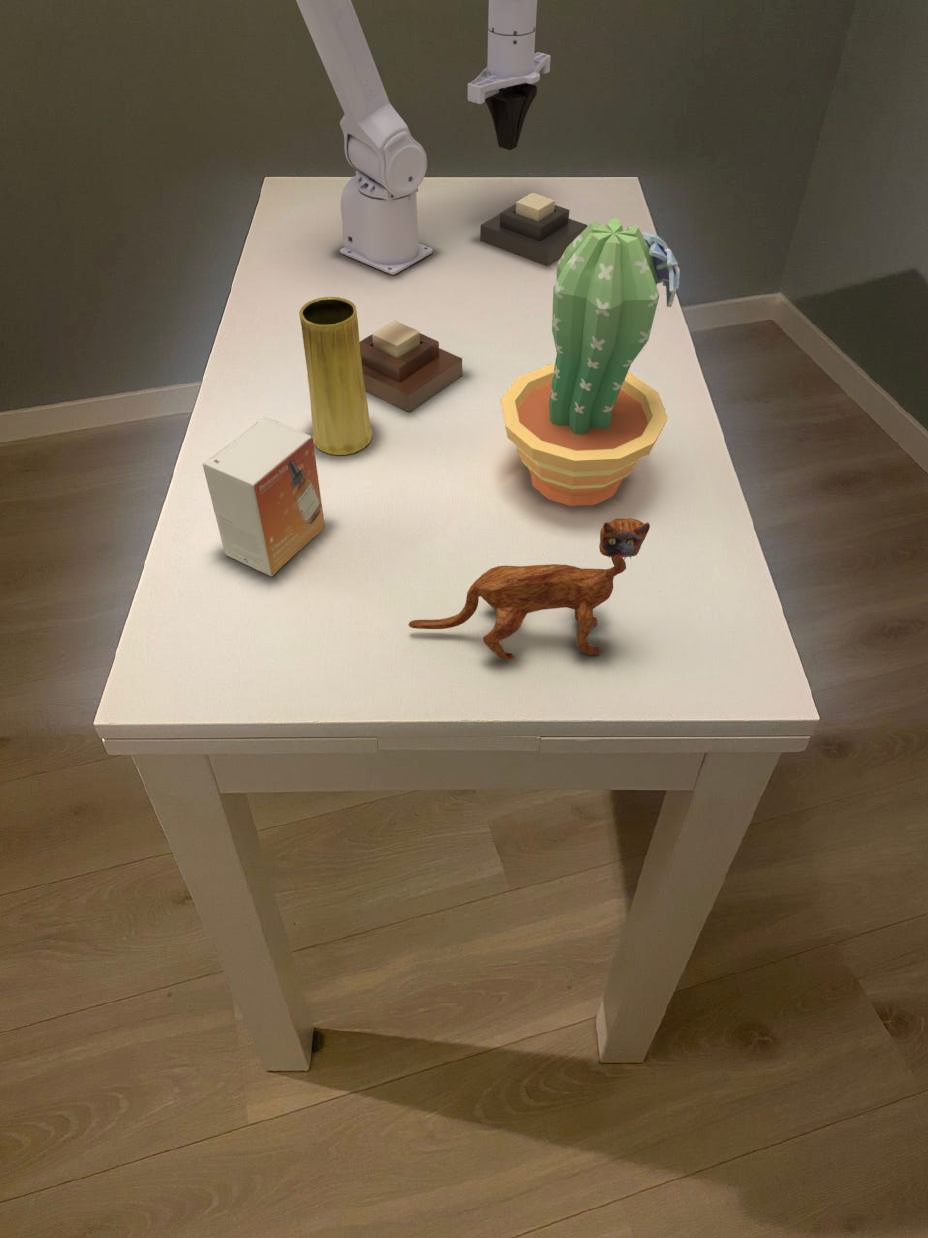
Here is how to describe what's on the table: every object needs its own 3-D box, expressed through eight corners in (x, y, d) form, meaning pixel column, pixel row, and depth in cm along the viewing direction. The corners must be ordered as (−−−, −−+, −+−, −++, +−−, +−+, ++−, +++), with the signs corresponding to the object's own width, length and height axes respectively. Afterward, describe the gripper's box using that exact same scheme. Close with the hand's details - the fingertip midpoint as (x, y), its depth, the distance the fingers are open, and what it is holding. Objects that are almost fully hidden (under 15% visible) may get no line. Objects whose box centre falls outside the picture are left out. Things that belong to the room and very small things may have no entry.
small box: (271, 579, 82) (252, 487, 74) (223, 555, 84) (199, 463, 76) (327, 527, 87) (314, 434, 79) (280, 505, 89) (263, 413, 81)
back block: (479, 240, 124) (480, 211, 121) (520, 217, 129) (521, 187, 126) (547, 266, 120) (549, 236, 117) (586, 240, 125) (589, 211, 122)
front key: (373, 348, 100) (371, 333, 99) (395, 334, 102) (394, 319, 101) (398, 360, 99) (397, 345, 98) (420, 345, 101) (419, 331, 100)
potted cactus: (650, 538, 86) (703, 285, 67) (484, 518, 88) (491, 265, 69) (657, 437, 96) (705, 192, 77) (509, 420, 98) (521, 177, 79)
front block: (334, 375, 103) (330, 343, 100) (388, 341, 108) (386, 309, 105) (409, 413, 99) (407, 380, 96) (462, 375, 103) (462, 343, 100)
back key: (515, 215, 122) (516, 201, 120) (531, 205, 124) (532, 192, 122) (537, 223, 120) (538, 209, 119) (553, 213, 122) (555, 199, 121)
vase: (383, 428, 97) (373, 302, 86) (354, 462, 93) (340, 334, 82) (332, 414, 98) (316, 288, 88) (301, 446, 95) (281, 319, 84)
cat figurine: (406, 664, 76) (398, 541, 66) (411, 605, 80) (404, 481, 70) (628, 668, 76) (655, 545, 65) (620, 608, 80) (644, 484, 70)
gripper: (501, 50, 106) (498, 172, 117) (573, 20, 114) (564, 137, 124) (453, 38, 109) (454, 158, 119) (527, 8, 117) (521, 124, 127)
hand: (507, 146), depth 122 cm, fingers closed
